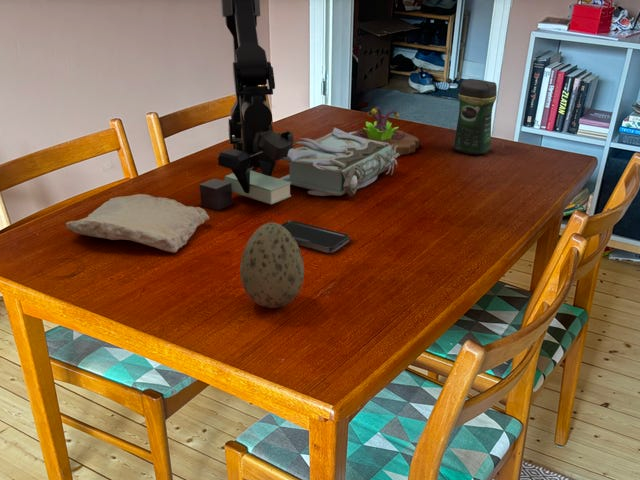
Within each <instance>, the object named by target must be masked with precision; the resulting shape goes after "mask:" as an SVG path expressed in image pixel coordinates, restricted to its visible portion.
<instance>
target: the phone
mask: <svg viewBox="0 0 640 480" xmlns="http://www.w3.org/2000/svg"><path fill="white" fill-rule="evenodd" d="M280 225H281V226H283V227H284V228H286V229H287V230H288V231H289V232H290V234H291V235H292V236H293V238H294V239H295V241H296V242H297V244H298V246H301V247H304V248H307V249H311V250H314V251H318V252H322V253H326V254H334V253H335V252H337V251H339V250H340V249H341V248H343V247H344V246H345V245H347V244H349V243H350V234H347V233H343V232H339V231H335V230H332V229H328V228H324V227H320V226H316V225H311V224H308V223H304V222H300V221H296V220H287V221H286V222H284V223H282V224H280Z"/></svg>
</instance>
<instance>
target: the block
mask: <svg viewBox="0 0 640 480" xmlns="http://www.w3.org/2000/svg"><path fill="white" fill-rule="evenodd" d="M199 194H200V195H199V197H200V206H201V207H204V208H208V209H211V210H213V211H220V210H223V209H225V208H227V207H229V206H231V205H233V204H234V203H233V192H232V187H231V183H230V182H226V181H225V180H222V179H218V178H212V179H208V180H207V181H205V182H202V183H199Z"/></svg>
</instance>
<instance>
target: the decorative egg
mask: <svg viewBox="0 0 640 480" xmlns="http://www.w3.org/2000/svg"><path fill="white" fill-rule="evenodd" d="M281 225H282V224H279V223H277V222H266V223H264V224H263V225H261V226H258V228H257V229H256V230H255V231H254V232H253V233H252V235H251V236H250V237H249V239H248V241H247V242H246V244H245V247H244V249H243V251H242V255H241V259H240V266H239V267H240V268H239V274H240V281H241V285H242V287H243V290H244V291H245V293H246V295H247V296H248V297H249V298H250V299H251V300H252V302H254V303H255V304H257V305H258V306H261V307H263V308H267V309H277V308H281V307H285V306H286V305H288V304H290V303H291V302H292V301H294V299H295V298H296V297H297V296H298V294H299V293H300V290H301V289H302V287H303V283H304V280H305V279H304V278H305V264H304V259H303V255H302V252H301V249H300V247H299V245H298V244H297V242H296V241H295V239H294V238H293V236H292V235H291V234H290V232H289V231H288V230H287V229H286V228H284V227H283V226H281Z"/></svg>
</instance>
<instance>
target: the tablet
mask: <svg viewBox="0 0 640 480" xmlns="http://www.w3.org/2000/svg"><path fill="white" fill-rule="evenodd" d="M207 220H210V215H208V213H207V211H206V210H205V209H204V208H202V207H199V206H186V205H185V204H183V203H181V202H178V201H177V200H175V199H170V198H168V197H155V196H154V195H153V196H152V195H150V194H143V193H138V194H133V195H124V196H123V195H122V196H117V197H111V198H109V200H108V201H105V202H104V203H102V204H101V205H100V206H99V207H98V208H96V209H94V210H93V211H92V212H90V213H89V214H88V215H87V216H86V217H84V218H81V219H78V220H72V221H67V222H66V223H65V226H66V229H67V230H70V231H71V232H73V233H75V234H79V235H81V236H87V237H94V238H100V239H107V240H111V241H117V240H118V241H119V240H120V241H122V240H123V241H124V240H125V241H131V242H135V243H139V244H142V245H146V246H148V247H152V248H156V249H159V250H161V251H163V252H164V251H165V252H169V253H173V254H175V253H177V252H178V250H179V249H182V248H183V246H185V245H187V242H188V240H189V239H190V238H191V237H192V236H193V235H194V234H195V232H196V230H197V227H199V226H201V225H203V224H204V223H205V222H206V221H207Z"/></svg>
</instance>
